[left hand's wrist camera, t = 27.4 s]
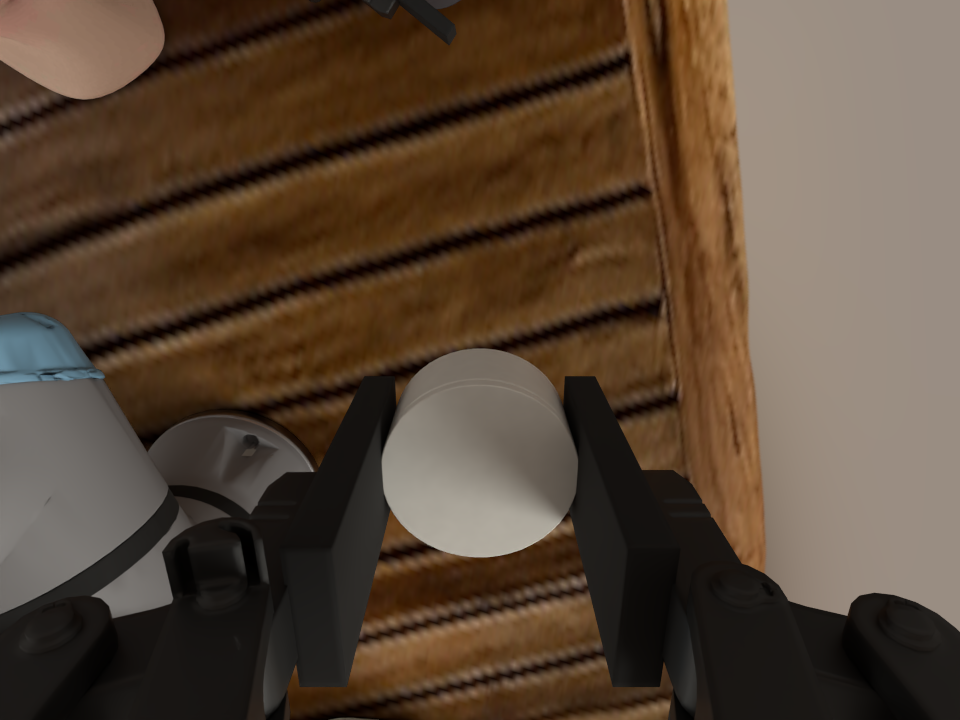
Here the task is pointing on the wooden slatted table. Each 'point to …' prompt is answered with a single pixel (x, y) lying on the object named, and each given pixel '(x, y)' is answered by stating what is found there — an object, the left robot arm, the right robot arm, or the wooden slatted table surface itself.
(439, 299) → the wooden slatted table surface
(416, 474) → the cap
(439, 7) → the bottle
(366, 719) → the fossil
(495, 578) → the wooden slatted table surface
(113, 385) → the wooden slatted table surface
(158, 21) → the anatomical model
